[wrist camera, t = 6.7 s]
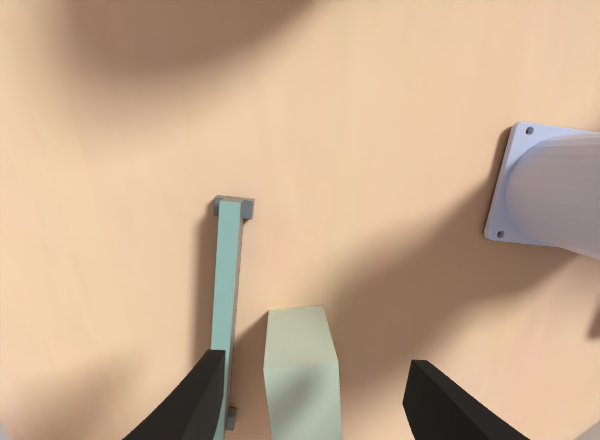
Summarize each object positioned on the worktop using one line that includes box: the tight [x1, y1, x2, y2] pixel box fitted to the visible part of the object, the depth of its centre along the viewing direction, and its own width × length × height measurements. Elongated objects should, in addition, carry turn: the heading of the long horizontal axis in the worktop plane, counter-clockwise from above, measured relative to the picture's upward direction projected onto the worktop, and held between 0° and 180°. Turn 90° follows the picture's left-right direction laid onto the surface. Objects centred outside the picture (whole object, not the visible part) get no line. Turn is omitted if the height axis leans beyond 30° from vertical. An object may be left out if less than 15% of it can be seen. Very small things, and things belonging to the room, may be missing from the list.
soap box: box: [263, 305, 342, 440], centre depth 19 cm, size 7×4×6 cm, turn 4°
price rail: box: [211, 195, 254, 440], centre depth 19 cm, size 2×18×2 cm, turn 174°
